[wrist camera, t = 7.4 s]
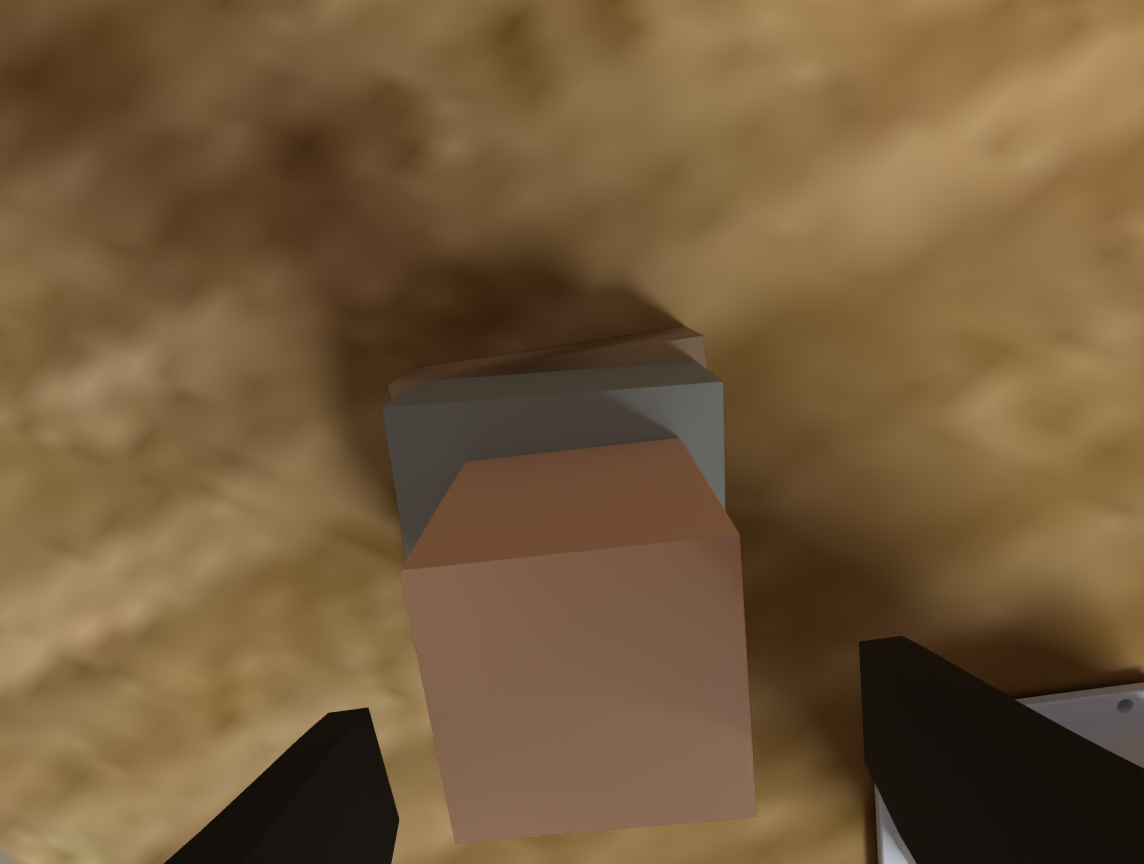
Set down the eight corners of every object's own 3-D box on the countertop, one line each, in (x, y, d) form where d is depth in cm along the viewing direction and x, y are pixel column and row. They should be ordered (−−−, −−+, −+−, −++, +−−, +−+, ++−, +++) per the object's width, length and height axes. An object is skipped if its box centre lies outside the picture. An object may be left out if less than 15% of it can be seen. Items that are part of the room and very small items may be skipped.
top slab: (695, 360, 16) (723, 381, 13) (702, 610, 17) (727, 679, 14) (417, 381, 16) (381, 407, 13) (452, 627, 18) (427, 699, 15)
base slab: (683, 324, 18) (703, 335, 15) (709, 570, 20) (732, 620, 17) (416, 366, 19) (387, 384, 16) (468, 604, 21) (450, 658, 18)
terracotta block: (679, 437, 13) (740, 534, 8) (695, 629, 14) (756, 817, 9) (465, 461, 13) (399, 570, 8) (497, 650, 14) (455, 844, 9)
